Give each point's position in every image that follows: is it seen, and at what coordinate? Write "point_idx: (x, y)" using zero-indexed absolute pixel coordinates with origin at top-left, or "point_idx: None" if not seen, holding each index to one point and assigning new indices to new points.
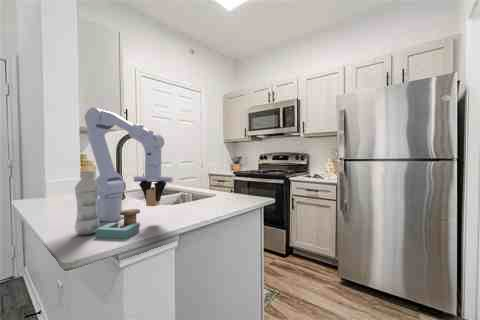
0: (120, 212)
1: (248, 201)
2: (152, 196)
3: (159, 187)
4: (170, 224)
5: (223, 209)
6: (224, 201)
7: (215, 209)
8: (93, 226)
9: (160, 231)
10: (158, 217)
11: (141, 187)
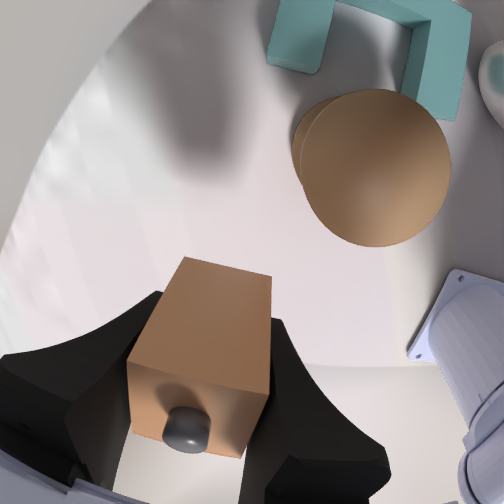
0: (440, 130)
1: None
2: (188, 316)
3: (35, 352)
4: (117, 185)
5: None
6: None
7: None
8: (497, 46)
9: (139, 58)
10: None
11: (345, 425)
